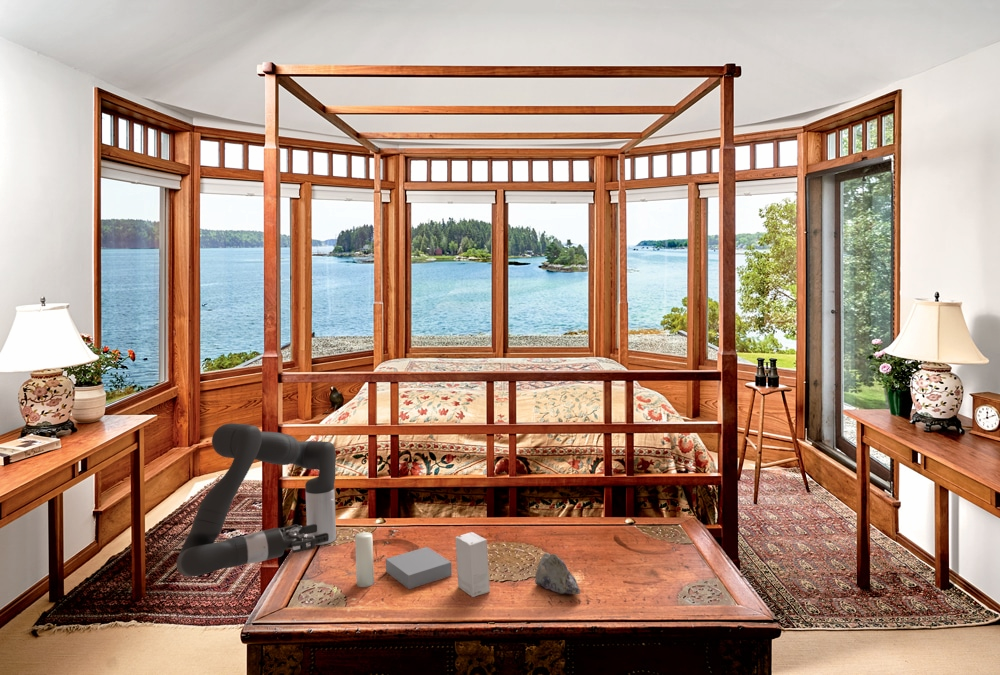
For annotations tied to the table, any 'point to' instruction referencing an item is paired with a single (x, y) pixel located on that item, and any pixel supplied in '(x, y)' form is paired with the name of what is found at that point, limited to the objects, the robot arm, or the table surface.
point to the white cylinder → (364, 559)
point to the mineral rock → (555, 575)
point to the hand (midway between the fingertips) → (322, 532)
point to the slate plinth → (418, 567)
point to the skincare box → (472, 564)
